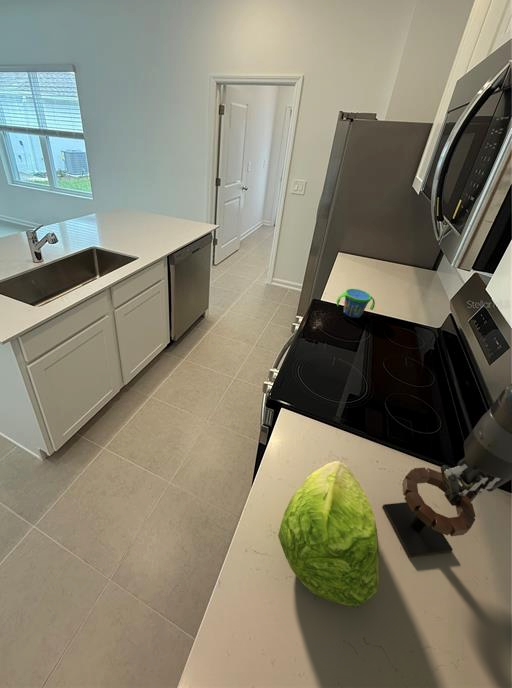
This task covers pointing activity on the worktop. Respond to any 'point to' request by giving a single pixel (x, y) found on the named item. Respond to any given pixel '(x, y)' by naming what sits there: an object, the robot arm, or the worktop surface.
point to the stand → (415, 532)
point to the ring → (429, 516)
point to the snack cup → (355, 302)
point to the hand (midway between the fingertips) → (456, 499)
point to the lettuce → (332, 537)
